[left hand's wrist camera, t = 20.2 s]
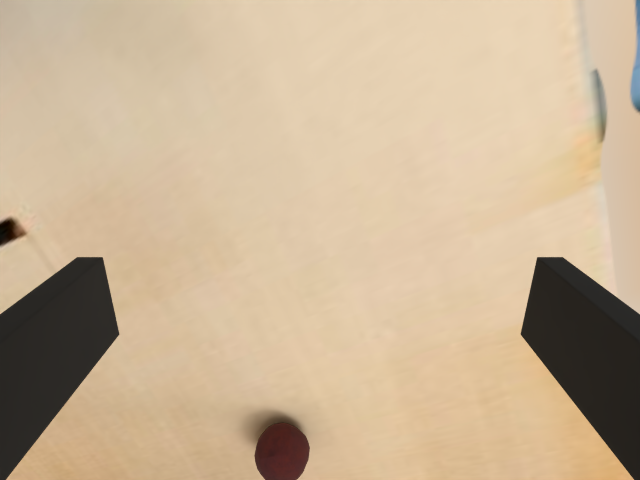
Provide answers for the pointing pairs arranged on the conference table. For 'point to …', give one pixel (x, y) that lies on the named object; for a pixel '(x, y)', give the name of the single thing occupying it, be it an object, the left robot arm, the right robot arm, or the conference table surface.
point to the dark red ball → (282, 452)
